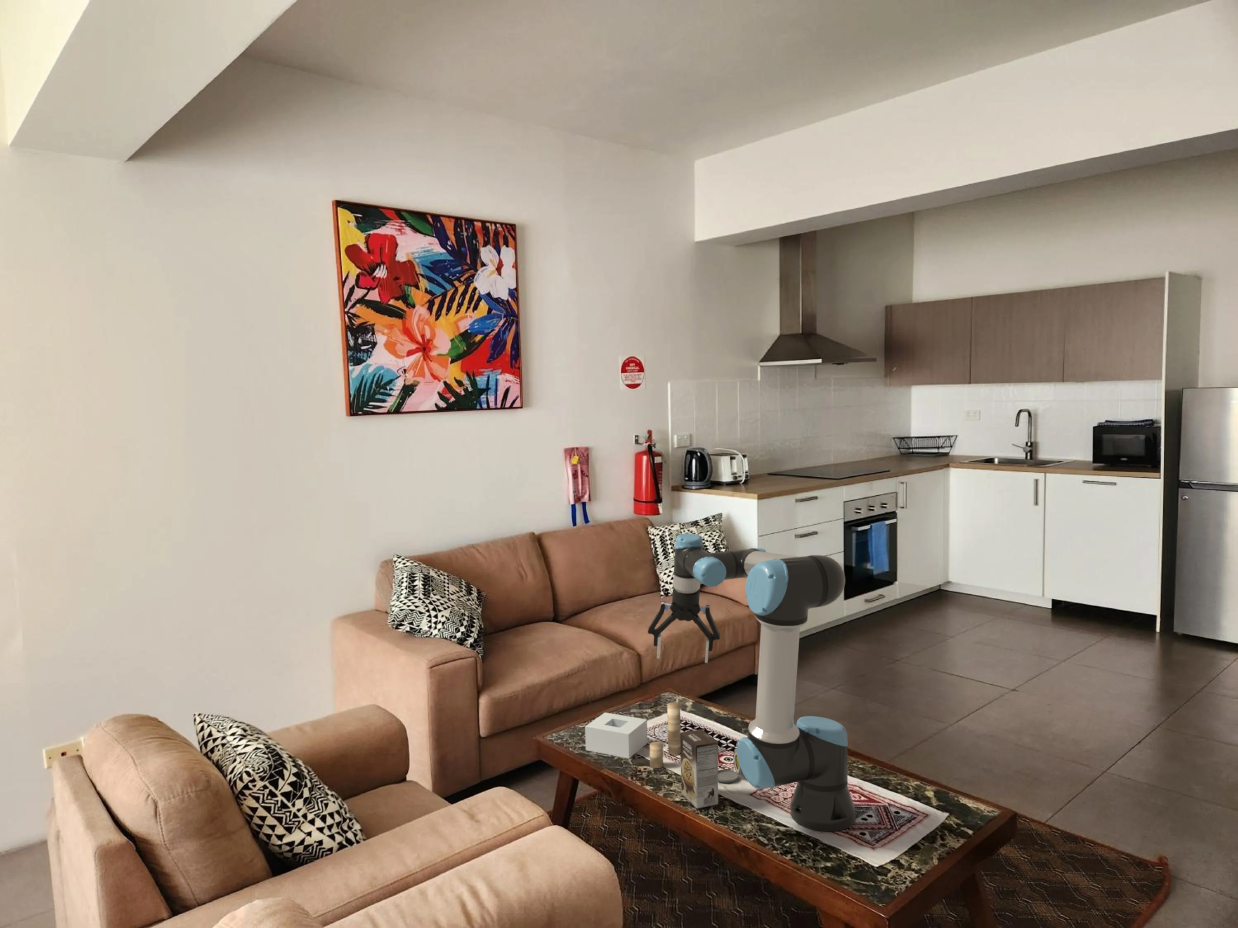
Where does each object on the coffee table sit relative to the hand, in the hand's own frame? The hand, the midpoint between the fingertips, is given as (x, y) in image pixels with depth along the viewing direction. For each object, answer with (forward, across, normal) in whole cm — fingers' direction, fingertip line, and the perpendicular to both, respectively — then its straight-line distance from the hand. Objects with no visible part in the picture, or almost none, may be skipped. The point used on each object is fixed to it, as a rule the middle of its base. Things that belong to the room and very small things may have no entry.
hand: (682, 658), depth 240 cm
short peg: (+25, +5, +15) cm, 30 cm away
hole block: (+28, +17, +3) cm, 33 cm away
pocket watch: (+23, -15, +21) cm, 35 cm away
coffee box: (+22, -7, +33) cm, 40 cm away
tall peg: (+26, 0, +6) cm, 27 cm away
